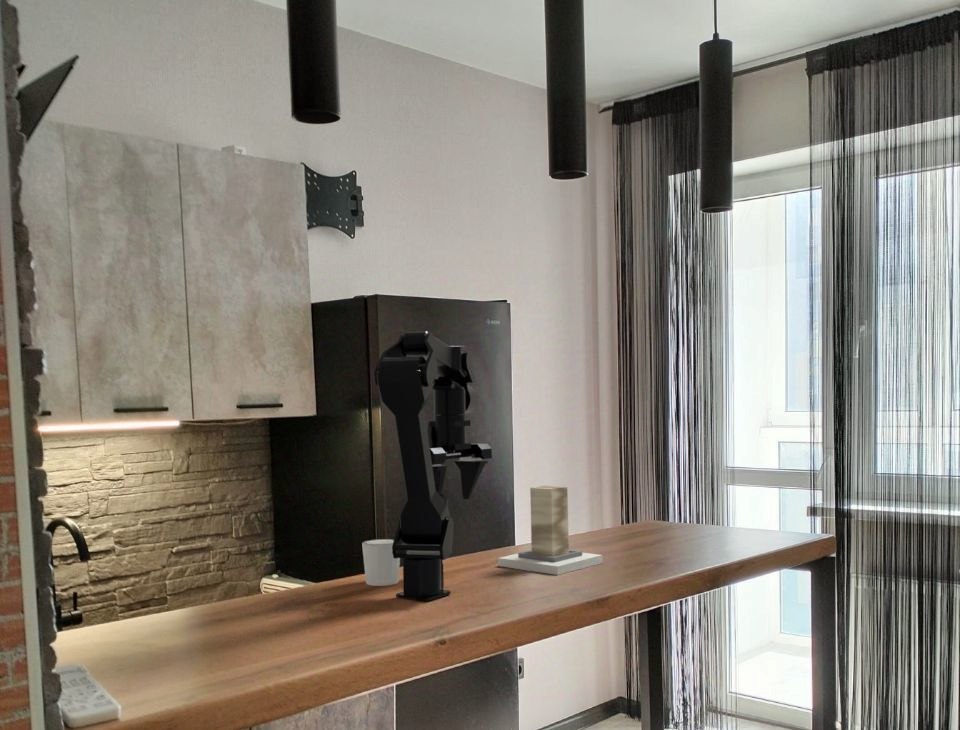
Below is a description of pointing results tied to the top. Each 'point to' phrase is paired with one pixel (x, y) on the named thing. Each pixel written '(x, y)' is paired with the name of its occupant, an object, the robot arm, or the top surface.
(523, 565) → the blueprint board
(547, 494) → the maple pillar
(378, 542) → the white cup
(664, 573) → the top surface
